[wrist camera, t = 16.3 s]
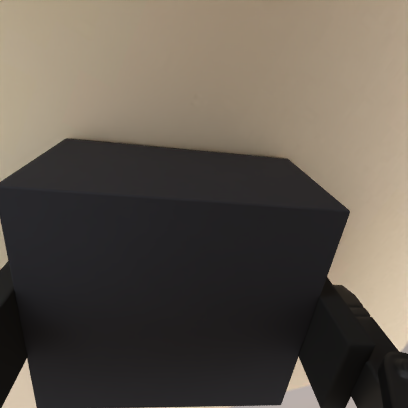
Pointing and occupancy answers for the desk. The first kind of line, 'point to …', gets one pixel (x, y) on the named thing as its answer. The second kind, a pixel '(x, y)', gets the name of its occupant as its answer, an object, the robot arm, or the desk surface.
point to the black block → (164, 273)
